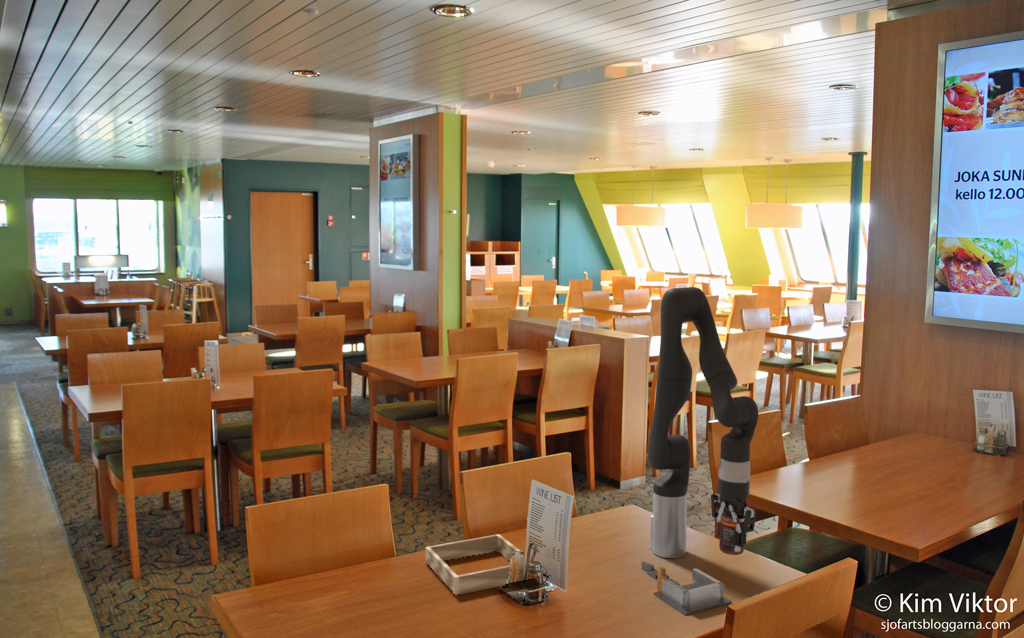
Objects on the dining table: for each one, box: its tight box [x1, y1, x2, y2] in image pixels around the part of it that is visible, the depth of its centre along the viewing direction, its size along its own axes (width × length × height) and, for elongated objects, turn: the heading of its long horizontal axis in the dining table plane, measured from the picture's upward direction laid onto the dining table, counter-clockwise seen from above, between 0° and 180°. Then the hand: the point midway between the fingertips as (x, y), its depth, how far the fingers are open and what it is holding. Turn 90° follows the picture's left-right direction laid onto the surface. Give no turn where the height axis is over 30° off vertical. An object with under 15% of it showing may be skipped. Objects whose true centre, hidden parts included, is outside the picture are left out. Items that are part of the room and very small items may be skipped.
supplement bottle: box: [718, 507, 745, 556], centre depth 190 cm, size 6×6×11 cm
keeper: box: [653, 566, 733, 616], centre depth 184 cm, size 12×14×6 cm
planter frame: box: [424, 533, 521, 596], centre depth 200 cm, size 22×22×4 cm
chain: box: [641, 560, 681, 586], centre depth 196 cm, size 14×2×2 cm, turn 26°
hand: (731, 541), depth 190 cm, fingers closed on supplement bottle, 6 cm apart
